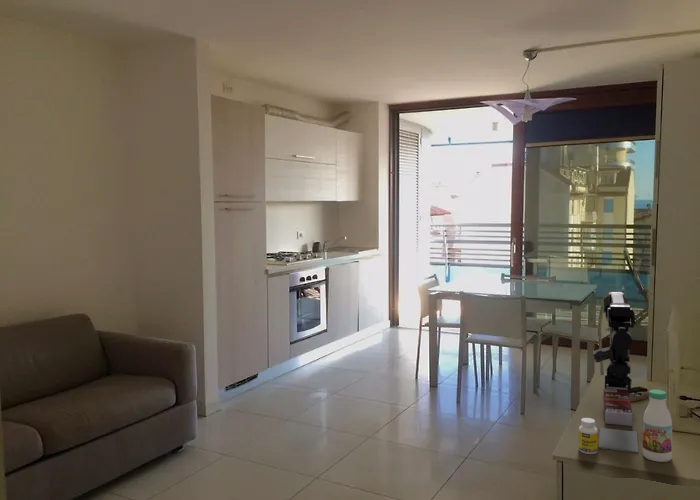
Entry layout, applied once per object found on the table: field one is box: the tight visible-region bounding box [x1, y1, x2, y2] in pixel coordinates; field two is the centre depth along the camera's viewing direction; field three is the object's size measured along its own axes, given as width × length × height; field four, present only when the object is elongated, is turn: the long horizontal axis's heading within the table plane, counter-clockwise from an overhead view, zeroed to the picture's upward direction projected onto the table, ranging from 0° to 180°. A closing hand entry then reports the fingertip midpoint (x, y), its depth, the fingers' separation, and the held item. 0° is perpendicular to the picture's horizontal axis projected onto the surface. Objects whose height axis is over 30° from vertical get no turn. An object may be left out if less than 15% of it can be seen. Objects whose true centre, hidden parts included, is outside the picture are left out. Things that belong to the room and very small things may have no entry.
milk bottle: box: [642, 389, 673, 463], centre depth 177 cm, size 8×8×20 cm
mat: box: [598, 427, 639, 454], centre depth 190 cm, size 16×11×1 cm
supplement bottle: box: [578, 417, 599, 455], centre depth 183 cm, size 5×5×10 cm
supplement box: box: [602, 388, 634, 427], centre depth 209 cm, size 9×5×16 cm
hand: (619, 386), depth 204 cm, fingers closed
